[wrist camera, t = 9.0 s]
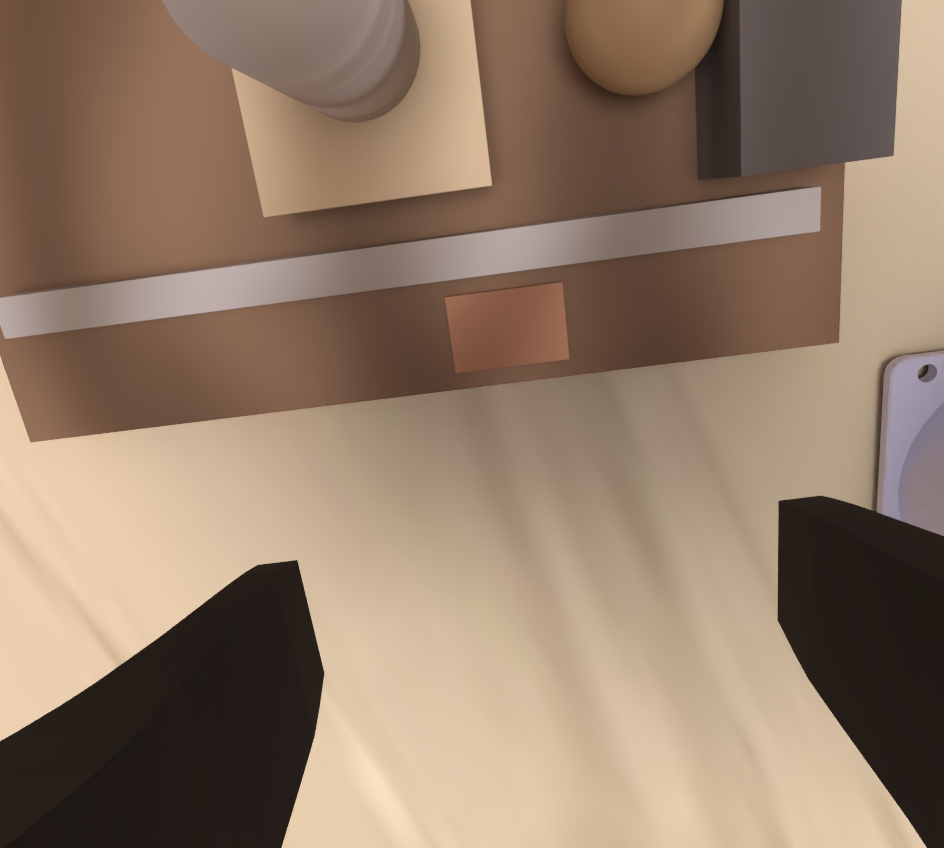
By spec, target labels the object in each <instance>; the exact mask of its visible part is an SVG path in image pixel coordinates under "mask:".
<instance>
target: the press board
mask: <svg viewBox="0 0 944 848" xmlns="http://www.w3.org/2000/svg"><path fill="white" fill-rule="evenodd" d="M901 3H902V0H471V9H472V18H473V26H474V35H475V43H476V52H477V61H478V69H479V78H480V86H481V95H482V103H483V112H484V121H485V129H486V138H487V146H488V155H489V164H490V172H491V181H492V186H490V187H483V188H476V189H468V190H461V191H454V192H447V193H440V194H433V195H425V196H418V197H411V198H404V199H397V200H390V201H382V202H375V203H368V204H361V205H354V206H347V207H339V208H332V209H325V210H318V211H311V212H304V213H296V214H289V215H280V216H271V217H264V216H263V212H262V207H261V202H260V198H259V193H258V188H257V184H256V179H255V175H254V170H253V165H252V161H251V156H250V151H249V147H248V142H247V138H246V133H245V128H244V124H243V119H242V114H241V110H240V105H239V100H238V96H237V91H236V87H235V82H234V77H233V73H232V68H231V67H229V66H227V65H225V64H223V63H221V62H219V61H217V60H215V59H214V58H212V57H211V56H210V55H208V54H207V53H205V52H204V51H202V50H201V49H200V48H199V47H198V46H197V45H196V44H194V43H193V42H192V41H191V40H190V39H189V38H188V37H187V36H186V34H185V33H184V32H183V31H182V30H181V29H180V28H179V26H178V25H177V24H176V22H175V21H174V19H173V18H172V17H171V15H170V14H169V12H168V10H167V8H166V7H165V5H164V3H163V1H162V0H0V356H1V359H2V362H3V365H4V368H5V370H6V373H7V376H8V379H9V382H10V385H11V388H12V390H13V393H14V396H15V399H16V402H17V405H18V408H19V410H20V413H21V416H22V419H23V422H24V425H25V428H26V430H27V433H28V436H29V439H30V442H37V441H45V440H53V439H61V438H69V437H77V436H86V435H94V434H102V433H110V432H118V431H126V430H134V429H142V428H150V427H158V426H167V425H175V424H183V423H191V422H199V421H207V420H215V419H223V418H231V417H239V416H247V415H256V414H264V413H272V412H280V411H288V410H296V409H304V408H312V407H320V406H328V405H336V404H345V403H353V402H361V401H369V400H377V399H385V398H393V397H401V396H409V395H417V394H425V393H434V392H442V391H450V390H458V389H466V388H474V387H482V386H490V385H498V384H506V383H514V382H523V381H531V380H539V379H547V378H555V377H563V376H571V375H579V374H587V373H595V372H603V371H612V370H620V369H628V368H636V367H644V366H652V365H660V364H668V363H676V362H684V361H693V360H701V359H709V358H717V357H725V356H733V355H741V354H749V353H757V352H765V351H773V350H782V349H790V348H798V347H806V346H814V345H822V344H830V343H838V342H839V321H840V291H841V261H842V230H843V200H844V169H845V162H851V161H859V160H866V159H873V158H880V157H888V156H893V154H894V135H895V116H896V97H897V78H898V59H899V41H900V22H901Z"/></svg>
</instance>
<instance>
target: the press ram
mask: <svg viewBox="0 0 944 848" xmlns="http://www.w3.org/2000/svg"><path fill="white" fill-rule="evenodd" d="M162 1H163V3H164V5H165V7H166V8H167V10H168V12H169V14H170V15H171V17H172V18H173V19H174V21H175V22H176V24H177V25H178V26H179V28H180V29H181V30H182V31H183V32H184V33H185V34H186V36H187V37H188V38H189V39H190V40H191V41H192V42H193V43H194V44H196V45H197V46H198V47H199V48H200V49H201V50H202V51H204V52H205V53H207V54H208V55H210V56H211V57H212V58H214V59H215V60H217V61H219V62H221V63H223V64H225V65H227V66H229V67H231V68H232V73H233V77H234V82H235V87H236V91H237V96H238V100H239V105H240V110H241V114H242V119H243V124H244V128H245V133H246V138H247V142H248V147H249V151H250V156H251V161H252V165H253V170H254V175H255V179H256V184H257V188H258V193H259V198H260V202H261V207H262V212H263V216H264V217H271V216H280V215H289V214H296V213H304V212H311V211H318V210H325V209H332V208H339V207H347V206H354V205H361V204H368V203H375V202H382V201H390V200H397V199H404V198H411V197H418V196H425V195H433V194H440V193H447V192H454V191H461V190H468V189H476V188H483V187H490V186H492V181H491V172H490V164H489V155H488V146H487V138H486V129H485V121H484V112H483V103H482V95H481V86H480V78H479V69H478V61H477V52H476V43H475V35H474V26H473V18H472V9H471V0H162Z"/></svg>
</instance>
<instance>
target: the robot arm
mask: <svg viewBox="0 0 944 848" xmlns="http://www.w3.org/2000/svg"><path fill="white" fill-rule="evenodd" d="M927 364H928V368H929V369H928V372H927V374H926V375H925V376H924V377H923V378H920V379H918V372H919V369H920V368H921V367H922V366H924V365H927ZM778 622H779V624H780V626H781V628H782V630H783V632H784V633H785V635H786V637H787V639H788V641H789V643H790V645H791V647H792V649H793V651H794V653H795V655H796V657H797V659H798V661H799V662H800V664H801V666H802V668H803V670H804V672H805V674H806V675H807V677H808V679H809V680H810V682H811V683H812V685H813V686H814V688H815V689H816V691H817V692H818V694H819V695H820V696H821V698H822V699H823V701H824V702H825V703H826V705H827V706H828V708H829V709H830V711H831V712H832V713H833V715H834V716H835V718H836V719H837V721H838V722H839V723H840V725H841V726H842V728H843V729H844V730H845V732H846V733H847V735H848V736H849V737H850V739H851V740H852V742H853V743H854V744H855V746H856V747H857V748H858V750H859V751H860V753H861V754H862V755H863V757H864V758H865V760H866V761H867V762H868V764H869V765H870V767H871V768H872V769H873V771H874V772H875V774H876V775H877V776H878V778H879V779H880V781H881V782H882V783H883V785H884V786H885V788H886V789H887V790H888V792H889V793H890V794H891V796H892V797H893V799H894V800H895V801H896V803H897V804H898V806H899V807H900V808H901V810H902V811H903V813H904V814H905V815H906V817H907V818H908V820H909V821H910V823H911V824H912V826H913V827H914V829H915V830H916V832H917V833H918V835H919V836H920V838H921V839H922V841H923V842H924V844H925V845H926V847H927V848H944V351H936V352H928V353H919V354H911V355H903V356H900V357H896V358H895V359H893V360H892V361H891V362H890V363H889V364H888V366H887V367H886V369H885V373H884V384H883V402H882V421H881V439H880V458H879V476H878V495H877V512H875V511H872V510H869V509H866V508H863V507H860V506H857V505H854V504H851V503H847V502H844V501H841V500H837V499H833V498H829V497H824V496H815V497H807V498H798V499H790V500H782V501H779V534H778ZM323 679H324V670H323V666H322V662H321V658H320V653H319V649H318V645H317V641H316V637H315V633H314V628H313V624H312V620H311V616H310V612H309V607H308V603H307V599H306V595H305V591H304V587H303V582H302V578H301V574H300V570H299V566H298V562H297V560H295V561H287V562H279V563H271V564H263V565H257V566H255V567H254V568H252V569H250V570H249V571H247V572H245V573H244V574H243V575H241V576H240V577H238V578H237V579H235V580H234V581H233V582H231V583H230V584H229V585H227V586H226V587H225V588H223V589H222V590H221V591H219V592H218V593H217V594H215V595H214V596H213V597H212V598H210V599H209V600H208V601H206V602H205V603H204V604H203V605H201V606H200V607H199V608H197V609H196V610H195V611H193V612H192V613H191V614H189V615H188V616H187V617H186V618H184V619H183V620H182V621H180V622H179V623H178V624H176V625H175V626H174V627H172V628H171V629H170V630H169V631H167V632H166V633H165V634H163V635H162V636H161V637H159V638H158V639H157V640H155V641H154V642H152V643H151V644H150V645H148V646H147V647H145V648H144V649H143V650H141V651H140V652H138V653H137V654H136V655H134V656H133V657H131V658H130V659H129V660H127V661H126V662H124V663H123V664H122V665H120V666H119V667H117V668H116V669H114V670H113V671H112V672H110V673H109V674H107V675H106V676H105V677H103V678H102V679H100V680H99V681H98V682H96V683H95V684H93V685H92V686H90V687H89V688H87V689H86V690H84V691H83V692H81V693H79V694H78V695H76V696H75V697H73V698H72V699H70V700H69V701H67V702H65V703H64V704H62V705H61V706H59V707H57V708H56V709H54V710H52V711H51V712H49V713H47V714H46V715H44V716H43V717H41V718H39V719H38V720H36V721H34V722H33V723H31V724H29V725H28V726H26V727H24V728H23V729H21V730H19V731H18V732H16V733H14V734H12V735H11V736H9V737H7V738H5V739H4V740H2V741H0V848H281V847H282V844H283V840H284V837H285V834H286V830H287V827H288V824H289V821H290V817H291V814H292V811H293V807H294V804H295V801H296V797H297V794H298V791H299V788H300V784H301V781H302V777H303V774H304V771H305V767H306V764H307V760H308V757H309V753H310V750H311V746H312V743H313V739H314V736H315V730H316V724H317V719H318V713H319V707H320V700H321V693H322V686H323Z"/></svg>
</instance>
